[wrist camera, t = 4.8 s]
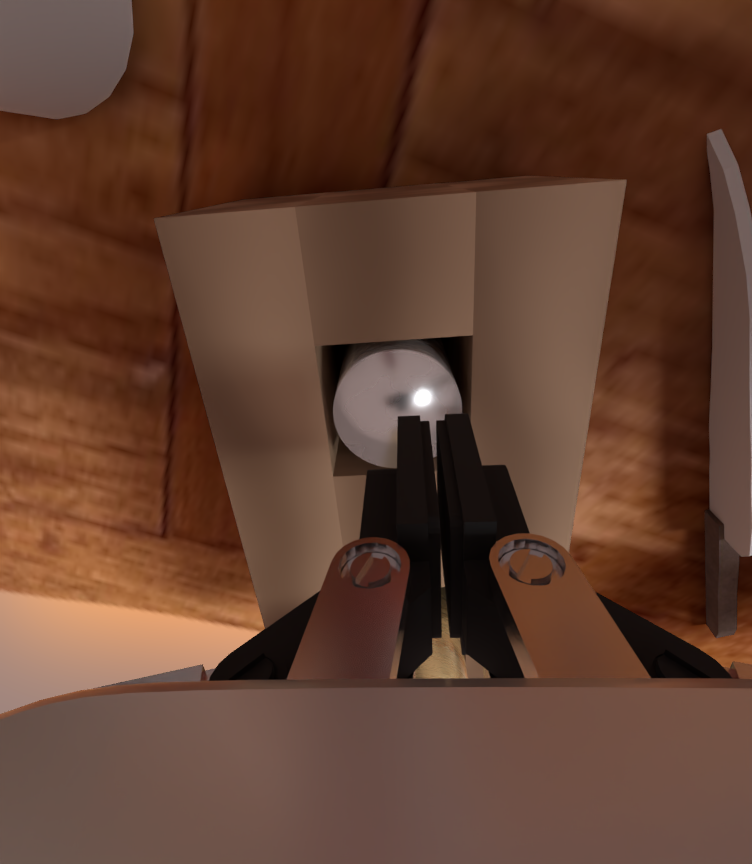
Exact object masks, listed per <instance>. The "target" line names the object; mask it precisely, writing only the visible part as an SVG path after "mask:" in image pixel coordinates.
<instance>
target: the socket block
mask: <svg viewBox="0 0 752 864" xmlns="http://www.w3.org/2000/svg"><path fill="white" fill-rule="evenodd" d="M626 182H627V180H623V179H599V178H575V177H551V176H519V177H507V178H495V179H483V180H471V181H459V182H447V183H435V184H423V185H411V186H399V187H387V188H375V189H363V190H350V191H338V192H326V193H314V194H302V195H290V196H278V197H266V198H254V199H243V200H238V201H233V202H228V203H224V204H219V205H214V206H210V207H205V208H200V209H196V210H191V211H186V212H181V213H177V214H172V215H167V216H163V217H158V218H154V222H155V226H156V229H157V233H158V237H159V240H160V244H161V248H162V251H163V255H164V259H165V262H166V266H167V270H168V273H169V277H170V281H171V284H172V288H173V292H174V295H175V299H176V303H177V306H178V310H179V314H180V317H181V321H182V325H183V329H184V332H185V336H186V340H187V343H188V347H189V351H190V354H191V358H192V362H193V365H194V369H195V373H196V376H197V380H198V384H199V387H200V391H201V395H202V398H203V402H204V406H205V409H206V413H207V417H208V420H209V424H210V428H211V431H212V435H213V439H214V443H215V446H216V450H217V454H218V457H219V461H220V465H221V468H222V472H223V476H224V479H225V483H226V487H227V490H228V494H229V498H230V501H231V505H232V509H233V512H234V516H235V520H236V523H237V527H238V531H239V534H240V538H241V542H242V545H243V549H244V553H245V557H246V560H247V564H248V568H249V571H250V575H251V579H252V582H253V586H254V590H255V593H256V597H257V601H258V604H259V608H260V612H261V615H262V619H263V623H264V626H265V629H266V628H267V627H269V626H270V625H272V624H273V623H274V622H276V621H277V620H279V619H280V618H282V617H283V616H284V615H286V614H287V613H289V612H290V611H292V610H293V609H294V608H296V607H297V606H299V605H300V604H302V603H303V602H304V601H306V600H307V599H309V598H310V597H312V596H313V595H314V594H316V593H317V592H319V591H320V590H321V587H322V585H323V582H324V579H325V577H326V574H327V571H328V569H329V566H330V563H331V561H332V559H333V558H334V556H335V554H336V553H337V552H338V551H339V550H340V549H341V548H342V547H343V546H344V545H346V544H348V543H350V542H352V541H354V540H358V539H359V538H360V529H361V520H362V511H363V502H364V493H365V484H366V475H367V470H373V469H397V468H387V467H382V466H377V465H374V464H371V463H369V462H367V461H365V460H363V459H361V458H360V457H358V456H356V455H355V454H354V453H353V452H352V451H350V449H349V448H348V447H347V446H346V445H345V444H344V442H343V441H342V440H341V438H340V436H339V434H338V432H337V430H336V427H335V423H334V418H333V404H334V399H335V394H336V389H337V385H338V380H339V375H340V370H341V366H342V361H343V356H344V351H345V347H346V344H352V343H367V342H382V341H396V340H411V339H426V338H441V340H442V343H443V346H444V349H445V352H446V355H447V358H448V361H449V363H450V366H451V369H452V372H453V375H454V378H455V381H456V384H457V387H458V390H459V393H460V396H461V401H462V413H468V415H469V418H470V422H471V426H472V429H473V433H474V437H475V441H476V444H477V448H478V452H479V456H480V459H481V463H482V465H506V467H507V469H508V472H509V475H510V478H511V481H512V483H513V486H514V489H515V492H516V495H517V498H518V501H519V504H520V507H521V509H522V512H523V515H524V518H525V521H526V524H527V527H528V530H529V532H530V534H535V535H541V536H544V537H546V538H549V539H551V540H554V541H555V542H557V543H558V544H560V545H561V546H563V547H564V548H565V549H566V550H567V551H568V553H569V548H570V542H571V535H572V529H573V522H574V516H575V509H576V503H577V497H578V490H579V484H580V477H581V471H582V465H583V458H584V452H585V445H586V439H587V433H588V426H589V420H590V413H591V407H592V400H593V394H594V388H595V381H596V375H597V368H598V362H599V356H600V349H601V343H602V336H603V330H604V323H605V317H606V311H607V304H608V298H609V291H610V285H611V279H612V272H613V266H614V259H615V253H616V247H617V240H618V234H619V227H620V221H621V214H622V208H623V202H624V195H625V189H626ZM433 460H434V469H435V479H436V488H437V456H436V457H434V458H433ZM441 587H445V585H444V576H443V566H442V556H441ZM464 658H465V664H466V670H467V676H468V678H484V675H483V666H481V665H480V664H479V663H478V662H476V661H475V660H474V659H472V658H471V657H470V656H469V655H464Z"/></svg>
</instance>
